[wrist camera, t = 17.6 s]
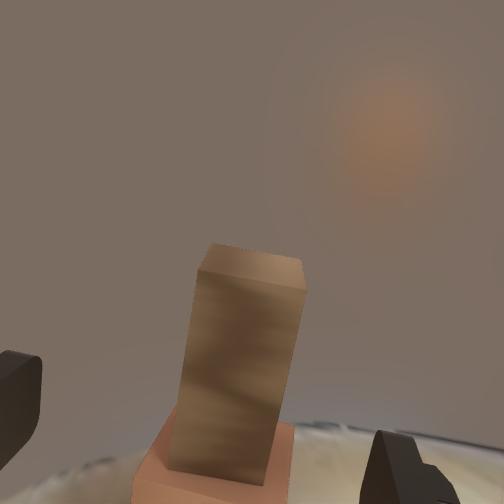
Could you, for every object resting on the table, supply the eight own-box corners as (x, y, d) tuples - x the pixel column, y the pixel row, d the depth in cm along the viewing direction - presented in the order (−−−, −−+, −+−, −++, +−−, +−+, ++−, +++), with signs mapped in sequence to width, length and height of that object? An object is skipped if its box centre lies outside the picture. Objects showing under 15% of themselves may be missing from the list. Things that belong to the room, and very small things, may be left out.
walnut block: (264, 425, 26) (300, 259, 23) (263, 486, 22) (307, 290, 19) (184, 411, 26) (212, 242, 23) (166, 469, 22) (198, 269, 19)
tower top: (282, 482, 28) (295, 425, 27) (268, 589, 21) (284, 517, 20) (172, 453, 29) (180, 397, 28) (124, 547, 22) (133, 476, 21)
